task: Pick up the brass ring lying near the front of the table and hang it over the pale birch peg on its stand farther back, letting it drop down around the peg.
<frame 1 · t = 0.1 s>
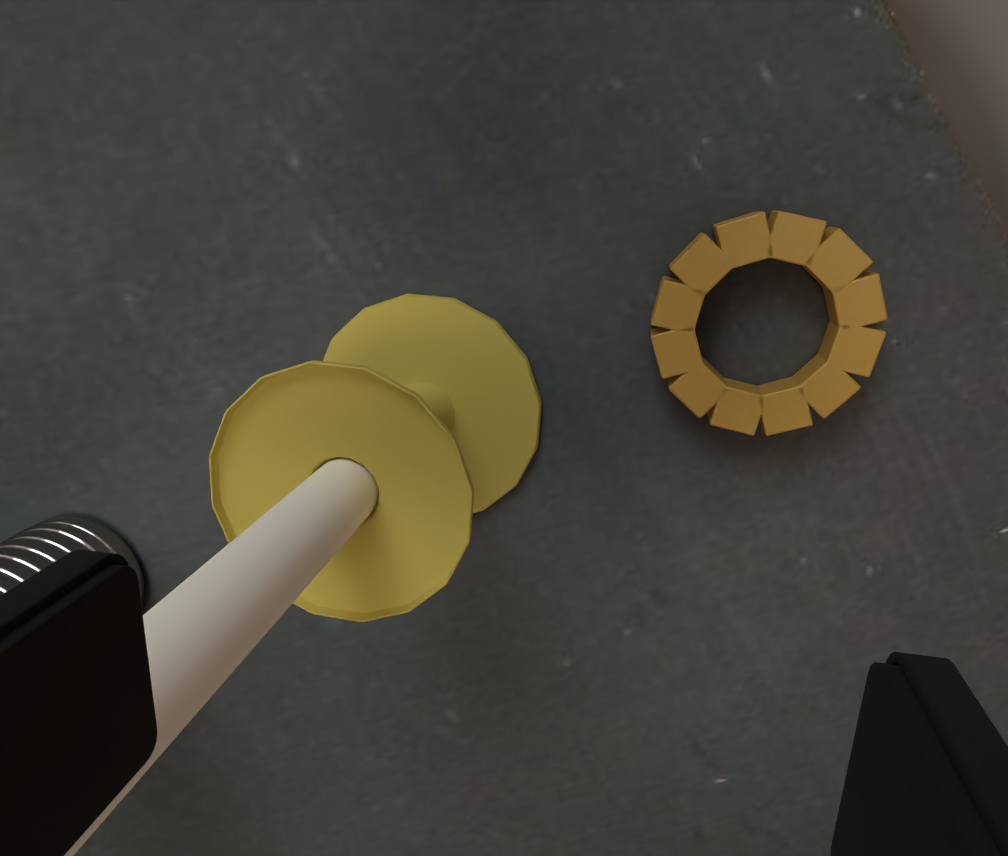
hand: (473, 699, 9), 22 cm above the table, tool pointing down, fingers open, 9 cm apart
water bottle: (92, 570, 38), on the table
ring: (759, 321, 28), on the table
candle: (427, 409, 32), on the table
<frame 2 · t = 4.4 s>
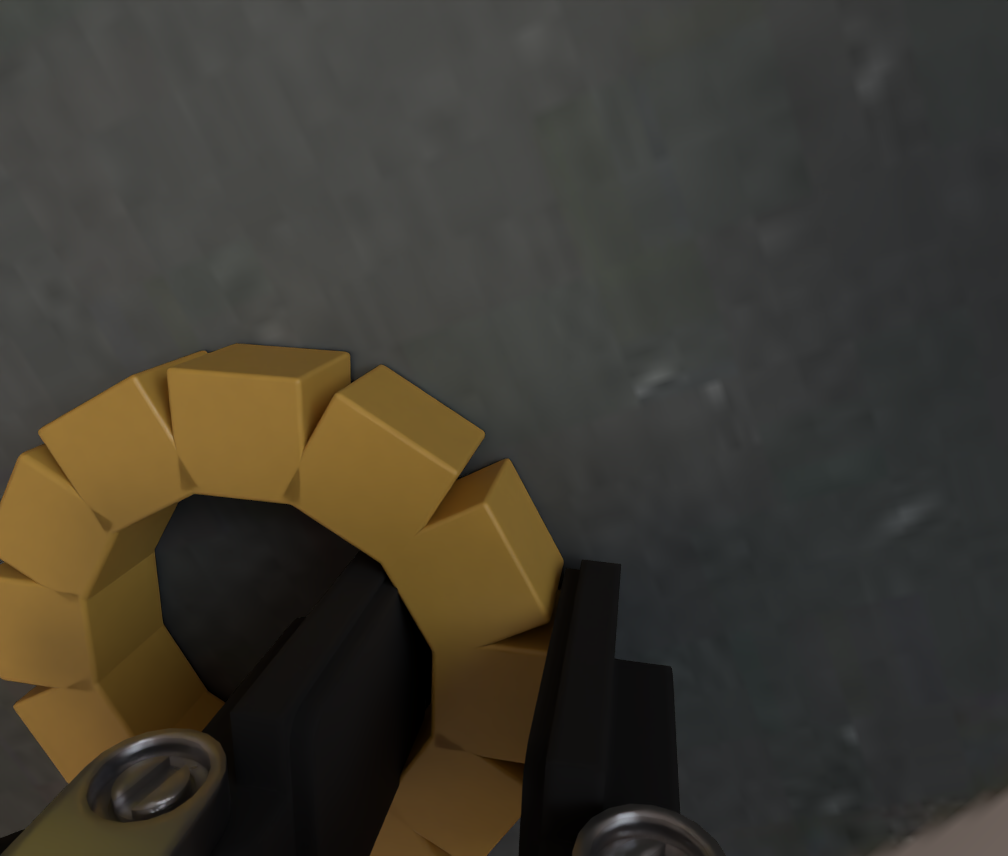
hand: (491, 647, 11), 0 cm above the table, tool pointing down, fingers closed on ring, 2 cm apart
ring: (305, 606, 11), on the table, touching gripper
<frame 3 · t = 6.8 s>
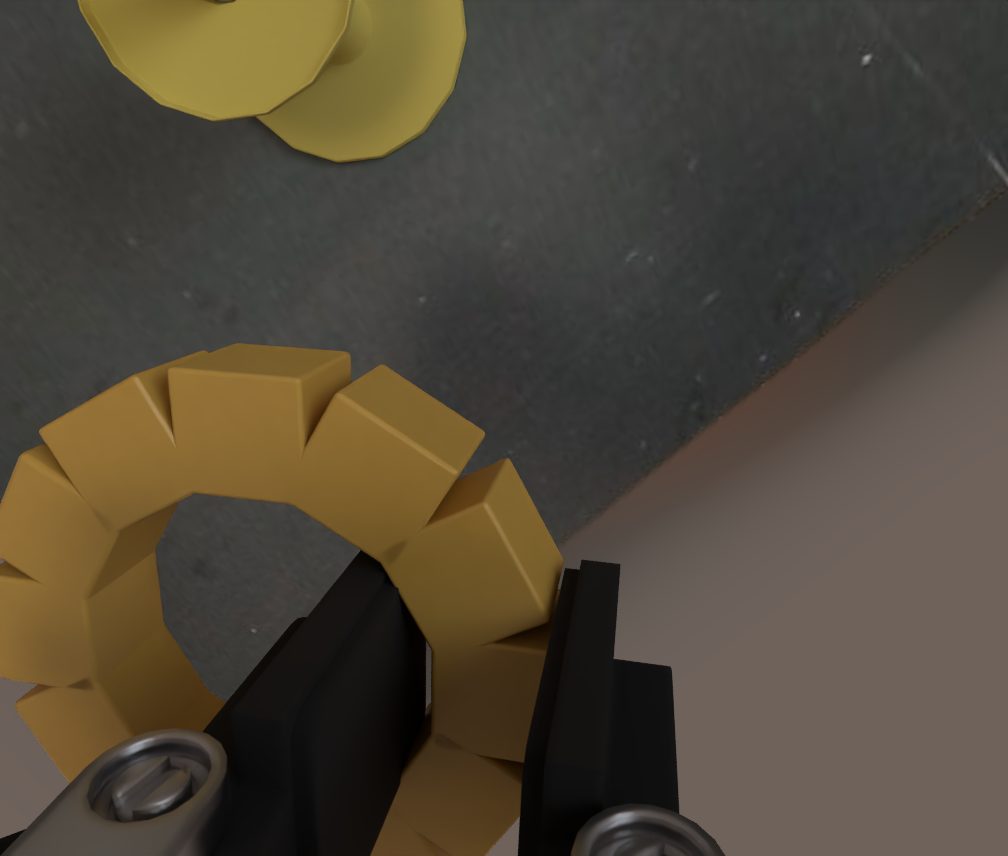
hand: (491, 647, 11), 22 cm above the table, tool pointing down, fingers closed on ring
ring: (305, 605, 11), point 22 cm above the table, touching gripper
candle: (344, 29, 30), on the table
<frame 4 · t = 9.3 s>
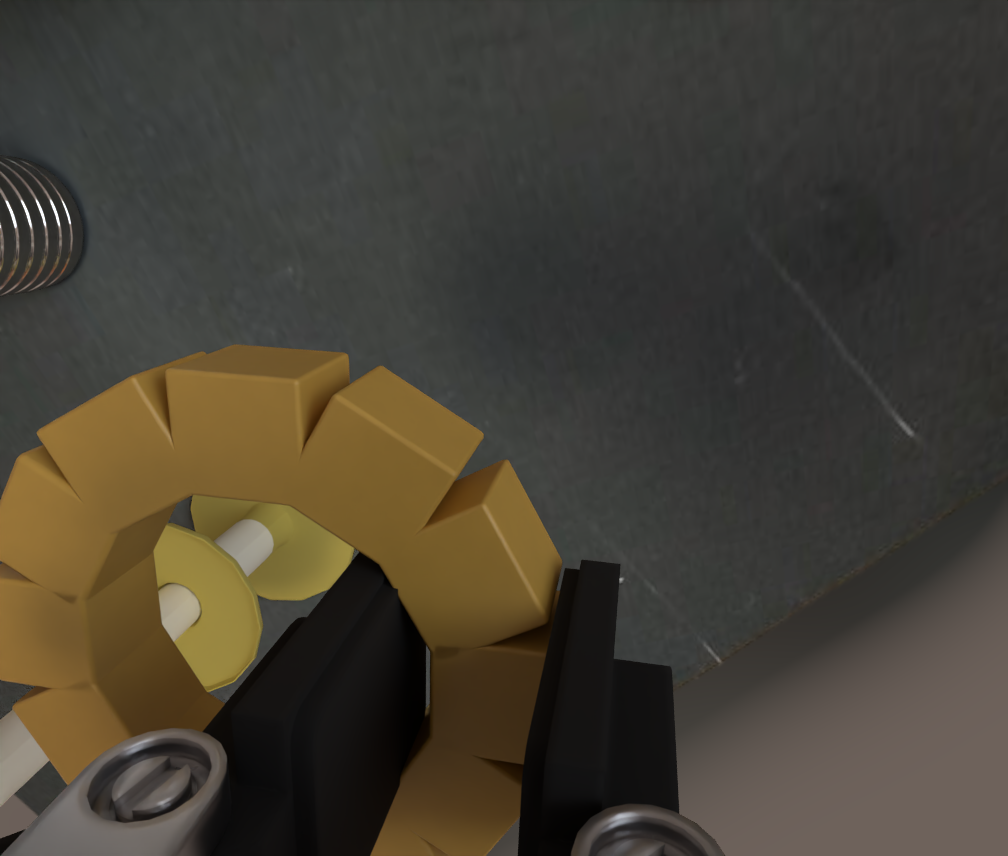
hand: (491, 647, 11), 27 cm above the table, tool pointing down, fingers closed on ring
water bottle: (35, 224, 40), on the table
ring: (304, 607, 11), point 27 cm above the table, touching gripper
candle: (275, 519, 43), on the table
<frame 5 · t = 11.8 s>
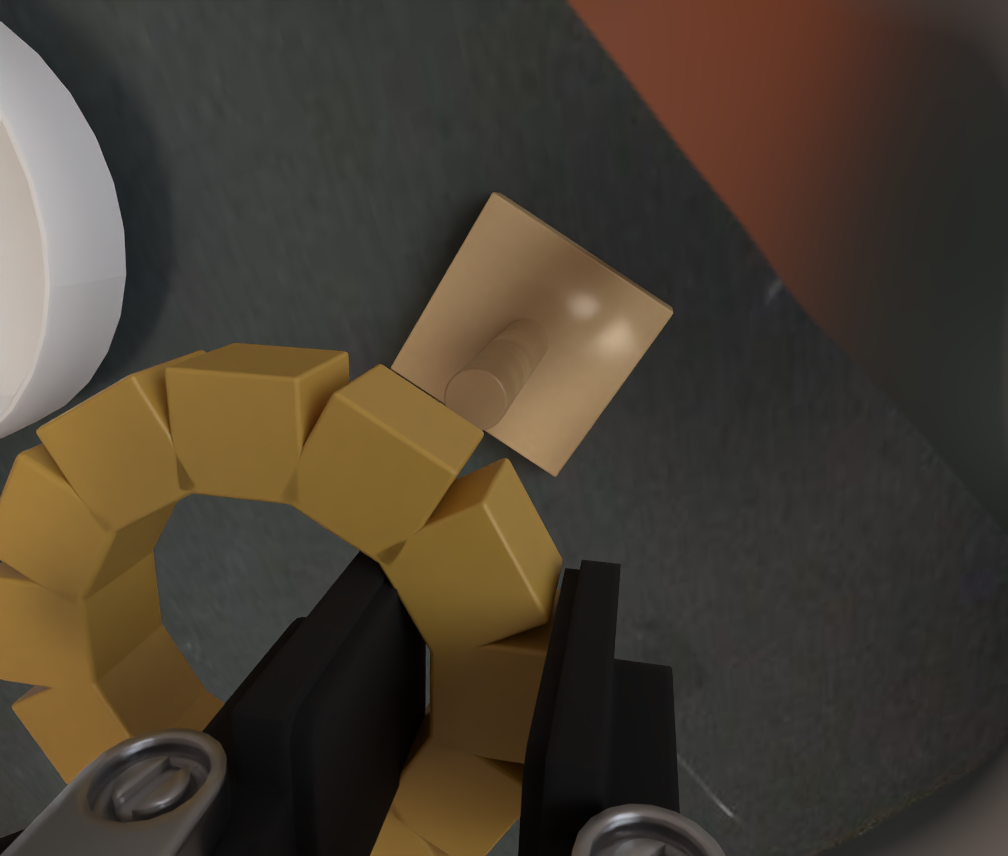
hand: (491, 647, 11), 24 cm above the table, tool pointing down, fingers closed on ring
peg stand: (530, 335, 34), on the table
ring: (303, 606, 11), point 24 cm above the table, touching gripper
bowl: (5, 222, 37), on the table
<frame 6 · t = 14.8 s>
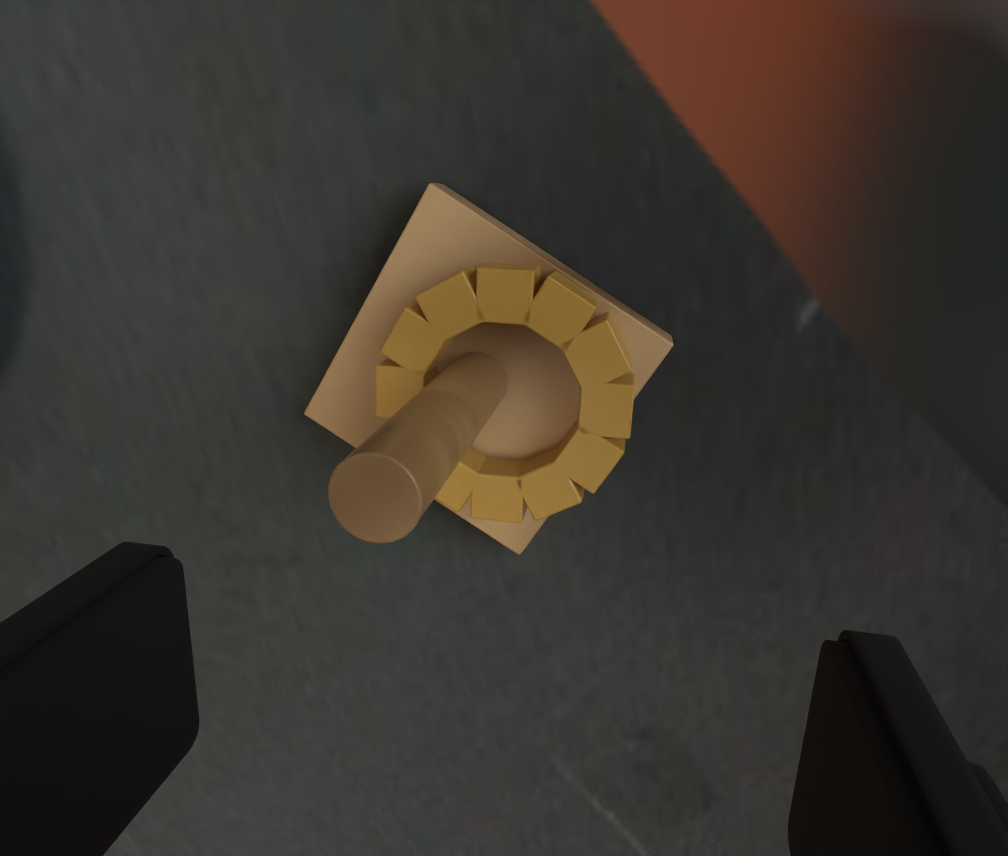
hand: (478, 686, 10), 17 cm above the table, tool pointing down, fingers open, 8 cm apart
peg stand: (486, 371, 26), on the table
ring: (509, 389, 24), point 1 cm above the table, touching peg stand
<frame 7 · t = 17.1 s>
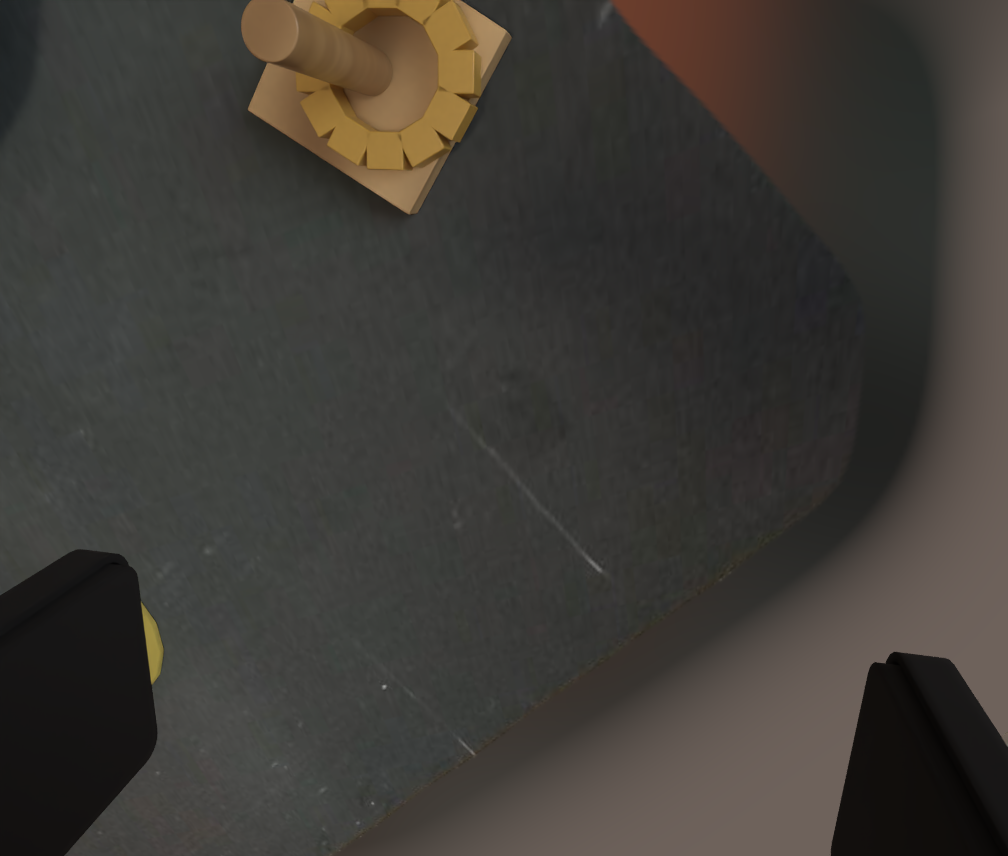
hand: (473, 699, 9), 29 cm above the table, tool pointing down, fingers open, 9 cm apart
peg stand: (382, 76, 35), on the table
ring: (394, 76, 34), point 1 cm above the table, touching peg stand
candle: (94, 635, 49), on the table
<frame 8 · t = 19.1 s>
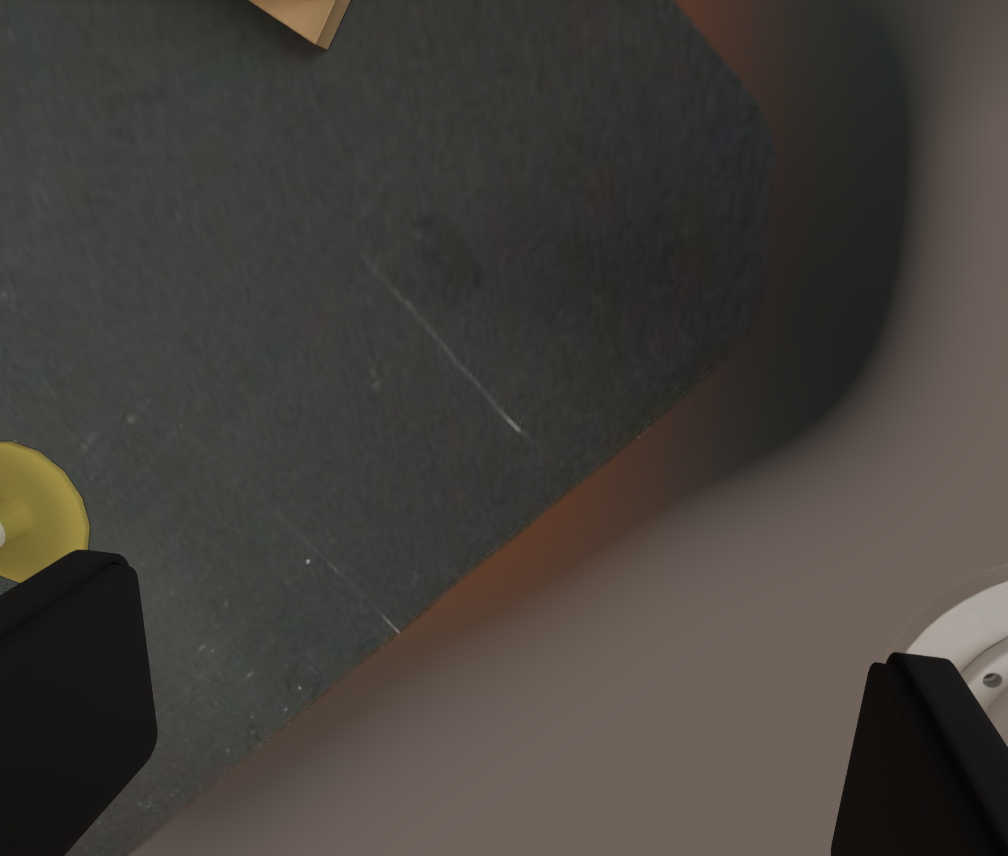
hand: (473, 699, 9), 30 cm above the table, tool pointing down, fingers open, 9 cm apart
candle: (22, 513, 48), on the table
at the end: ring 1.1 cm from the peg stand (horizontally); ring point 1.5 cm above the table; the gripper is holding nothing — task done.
